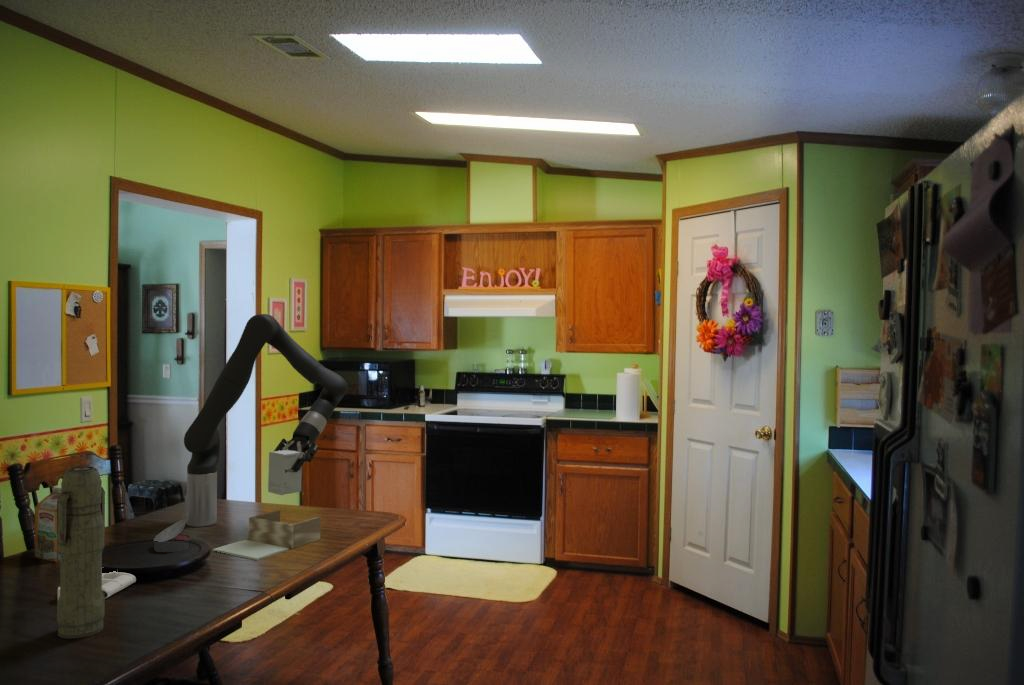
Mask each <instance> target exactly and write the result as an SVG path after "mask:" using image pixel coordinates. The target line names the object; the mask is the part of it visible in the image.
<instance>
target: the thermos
mask: <svg viewBox="0 0 1024 685" xmlns="http://www.w3.org/2000/svg"><path fill="white" fill-rule="evenodd" d="M102 484H103V483H102V479H101V474H100V472H99V470H98V468H96V467H95V466H85V465H84V466H83V465H82V466H74V467H70V468H68V469H67V470H65V472H64V474H63V477H62V480H61V485H60V486H61V487H60V488H61V495H60V496H59V499H58V501H57V543H58V553H59V555H60V562H59V574H60V575H59V581H60V582H59V587H60V597H59V599H58V598H57V602H56V624H57V627H58V628H57V636H58V637H59V638H62V639H70V640H71V639H81V638H86V637H90V636H93V635H97V634H98V633H100V632H101V631H102V630H104V626H105V625H104V618H105V609H106V608H105V607H106V606H105V604H106V603H105V600H106V599H105V595H104V594H103V592H102V568H103V551H104V549H105V528H106V525H105V524H106V521H105V520H106V508H105V507H106V491H105V490H104V487H103V486H102Z"/></svg>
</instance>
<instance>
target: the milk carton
mask: <svg viewBox="0 0 1024 685" xmlns="http://www.w3.org/2000/svg"><path fill="white" fill-rule="evenodd" d="M60 495H61V487H59V486H57V487H56V486H54V487H52V492H51V493H49V494H48V495H46V496H45V497H44V498H42V500H40V501H39V502H38V503H37V505H36V506H35V507H34V558H37V559H41V558H42V560H45V559H46V560H45V561H49V560H50V561H49V562H53V561H54V562H53V563H57V562H58V563H60V555H59V553H58V543H57V501H58V499H59V496H60Z"/></svg>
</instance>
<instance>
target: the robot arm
mask: <svg viewBox="0 0 1024 685" xmlns="http://www.w3.org/2000/svg"><path fill="white" fill-rule="evenodd" d="M266 344H268V345H270V346H271V347H272V348H274V349H275V350H277V351H278V352H279V353H280V354H281V355H282V356H283V357H284V358H285V359H286V361H287V362H288V363H289V364H290V365H291V366H292V368H293V369H294V371H296V372H297V373H299V375H300V376H302V377H303V378H304V379H305V380H307V382H309V383H310V384H312V385H316V384H318V385H320V386H321V387H323V389H322V390H321V392H320V394H319V396H318V397H317V399H316V400H315V401H314V402H313V404H312V405H311V406H310V408H309V410H308V411H307V412H306V414H305V415H303V417H302V419H301V420H300V422H299V423H298V424H297V426H296V427H295V429H294V431H293V433H292V438H291V439H290V440H286V438H282V439H281V440H280V442H279V443H278V444H277V446H276V447H275V449H274V450H273V451H272V452H274V451H282V450H291V451H298V452H301V454H300V455H299V459H297V460H296V462H295V464H294V465H293V467H292V470H293V471H294V472H297V471H298V470H299V469H300V468H301V466H302V467H303V464H305V463H306V462H307V463H311V462H312V461H313V459H314V457H315V455H316V453H317V452H318V449H319V446H318V445H317V444H316V442H317V440H318V439H319V437H320V435H321V434H322V432H323V431H324V429H325V427H326V425H327V423H328V422H329V420H330V418H331V417H332V415H333V414H334V410H335V409H336V407H337V406H338V405H339V403H341V401H342V399H343V397H344V396H345V395H346V394H347V392H348V389H349V387H348V383H347V381H346V379H345V378H344V377H342V376H341V375H339V374H338V373H336V372H335V371H333V370H331V369H329V368H326V367H325V366H324V365H323V364H322V363H320V362H319V361H318V360H317V359H316V358H315V357H314V356H313V355H312V354H311V353H309V352H307V351H306V350H305V349H304V348H303V347H302V346H301V345H300V344H299V343H297V342H296V341H295V339H293V338H292V337H291V336H290V334H288V332H287V331H286V330H285V329H284V327H283V326H282V325H281V323H280V322H278V321H277V319H276V318H275V317H274V316H273V315H271V314H268V313H267V314H266V313H260V314H255V315H252V316H251V317H250V318H249V319H248V320H247V322H246V324H245V326H244V329H243V331H242V334H241V336H240V339H239V341H238V343H237V345H236V347H235V349H234V351H233V352H232V354H231V355H230V356H229V358H228V359H227V361H226V363H225V365H224V367H223V369H222V370H221V372H220V373H219V375H218V377H217V379H216V381H215V383H214V385H213V386H212V389H211V390H210V392H209V394H208V396H207V398H206V400H205V402H204V404H203V406H202V408H201V410H200V412H199V413H198V415H197V416H196V417H195V419H194V420H193V422H191V425H190V426H189V427H188V429H187V430H186V432H185V433H184V437H183V443H184V447H185V449H186V450H187V451H188V452H189V453H191V458H190V460H189V462H188V464H187V466H186V467H187V468H186V471H187V473H186V478H187V479H186V485H187V486H186V487H187V489H186V494H185V496H184V519H187V522H186V524H185V525H187V526H188V527H207V526H213V525H215V524H217V522H218V521H217V520H218V519H217V518H218V517H217V514H218V510H217V509H218V507H217V506H218V504H217V503H218V498H217V497H218V491H217V489H218V465H219V462H220V451H221V448H220V447H221V437H220V436H221V435H220V432H219V430H218V427H219V425H220V423H221V422H222V420H223V419H224V417H225V416H226V415H227V414H228V412H229V411H230V410H231V409H233V407H234V406H235V404H237V402H239V399H240V398H241V396H242V395H243V394H244V391H245V389H246V388H247V387H248V386H247V385H248V384H249V382H250V380H251V377H252V373H253V370H254V366H255V362H256V360H257V357H258V356H259V354H260V352H261V351H262V350H263V348H264V347H265V345H266Z"/></svg>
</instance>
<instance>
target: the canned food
mask: <svg viewBox="0 0 1024 685" xmlns="http://www.w3.org/2000/svg"><path fill="white" fill-rule="evenodd" d="M186 522H187V519H185V518H183V519H180V520H179V521H177V522H175V523H173V524H172V525H170V526H168V527H166V528H164V529H163V530H161V532H159V533H158V534H156V536H155V537H154V538H153V542H154V541H158V542H165V541H168V540H170V539H184V540H190V539H191V538H190V536H189V534H188V535H187V534H184V533H182V531H183V530H184V528H185V527H186V525H187V524H186Z"/></svg>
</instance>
